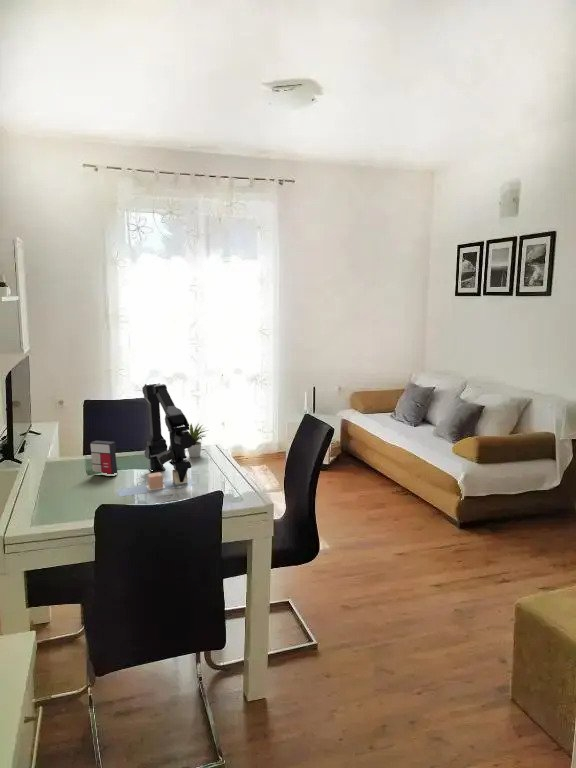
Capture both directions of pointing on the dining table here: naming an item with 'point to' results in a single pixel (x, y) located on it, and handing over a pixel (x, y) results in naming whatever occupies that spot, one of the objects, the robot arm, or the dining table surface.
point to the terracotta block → (155, 480)
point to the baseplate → (146, 488)
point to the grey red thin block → (103, 456)
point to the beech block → (176, 477)
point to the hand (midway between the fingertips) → (180, 480)
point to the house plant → (195, 441)
